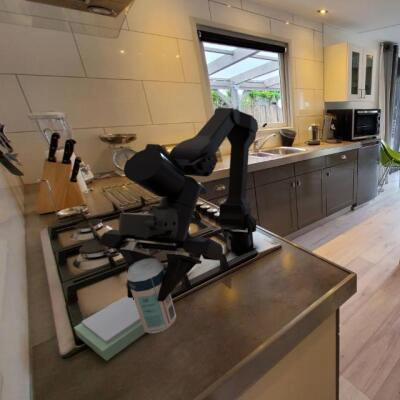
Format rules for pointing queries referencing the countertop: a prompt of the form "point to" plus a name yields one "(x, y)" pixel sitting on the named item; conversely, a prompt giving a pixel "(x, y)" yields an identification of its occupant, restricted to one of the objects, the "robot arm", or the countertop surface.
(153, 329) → the white canister
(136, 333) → the kitchen scale
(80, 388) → the countertop surface
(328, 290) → the countertop surface
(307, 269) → the countertop surface
